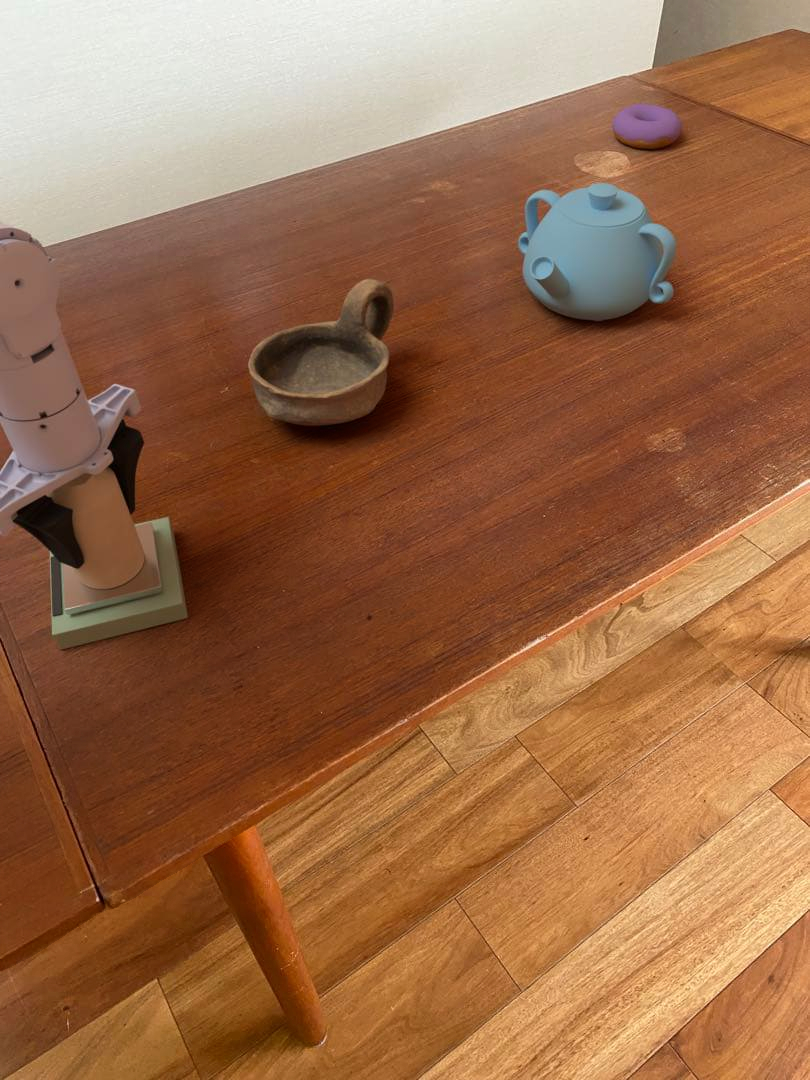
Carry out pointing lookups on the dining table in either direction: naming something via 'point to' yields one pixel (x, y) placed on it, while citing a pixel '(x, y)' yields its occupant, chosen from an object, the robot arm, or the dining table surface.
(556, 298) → the teapot
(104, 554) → the candle
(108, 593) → the thin square metal plate
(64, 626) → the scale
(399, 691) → the dining table surface
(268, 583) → the dining table surface
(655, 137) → the donut
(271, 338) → the bowl
